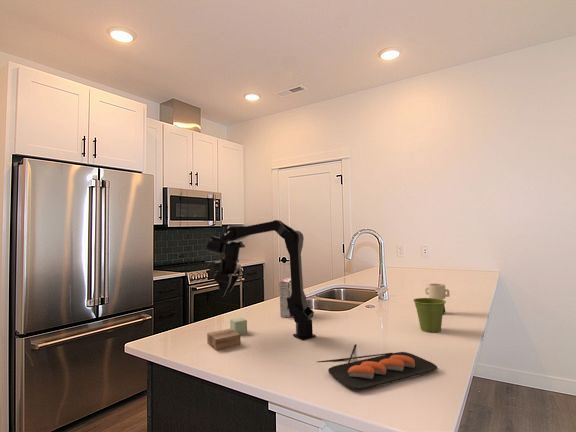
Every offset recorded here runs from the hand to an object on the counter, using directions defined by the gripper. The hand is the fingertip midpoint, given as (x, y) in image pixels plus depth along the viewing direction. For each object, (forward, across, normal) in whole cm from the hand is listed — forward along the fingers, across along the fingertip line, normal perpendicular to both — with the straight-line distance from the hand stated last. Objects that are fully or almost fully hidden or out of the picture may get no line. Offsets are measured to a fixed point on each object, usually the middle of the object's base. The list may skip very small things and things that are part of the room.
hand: (225, 294), depth 137 cm
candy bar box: (+11, -26, +24) cm, 37 cm away
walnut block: (+13, +16, +7) cm, 22 cm away
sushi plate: (+4, +30, +54) cm, 62 cm away
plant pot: (-1, -4, +82) cm, 82 cm away
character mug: (-2, -30, +92) cm, 97 cm away
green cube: (+13, +2, +8) cm, 16 cm away
